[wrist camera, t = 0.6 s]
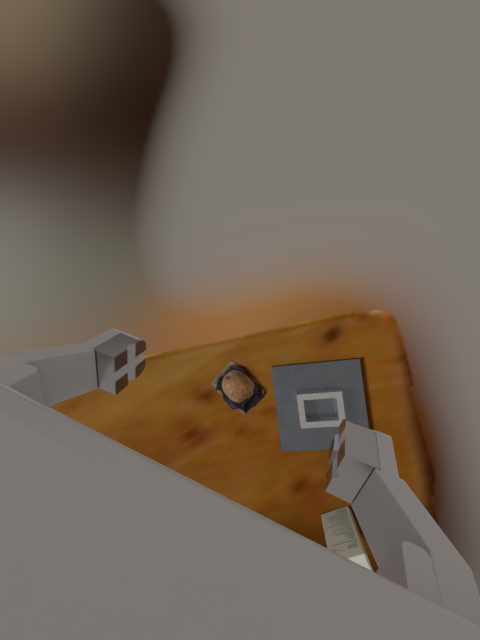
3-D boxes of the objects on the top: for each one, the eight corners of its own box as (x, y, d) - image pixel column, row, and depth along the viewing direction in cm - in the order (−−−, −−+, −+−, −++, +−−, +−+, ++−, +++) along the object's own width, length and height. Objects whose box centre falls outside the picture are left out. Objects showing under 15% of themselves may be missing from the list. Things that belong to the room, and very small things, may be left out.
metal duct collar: (370, 445, 56) (375, 453, 53) (282, 449, 59) (281, 457, 56) (358, 358, 56) (362, 360, 53) (271, 366, 60) (270, 369, 56)
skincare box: (329, 533, 57) (339, 590, 45) (320, 513, 58) (328, 564, 46) (358, 525, 56) (377, 580, 44) (349, 504, 57) (365, 554, 45)
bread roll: (209, 383, 63) (204, 387, 59) (234, 357, 62) (230, 359, 58) (243, 417, 61) (240, 423, 58) (268, 390, 60) (267, 395, 57)
